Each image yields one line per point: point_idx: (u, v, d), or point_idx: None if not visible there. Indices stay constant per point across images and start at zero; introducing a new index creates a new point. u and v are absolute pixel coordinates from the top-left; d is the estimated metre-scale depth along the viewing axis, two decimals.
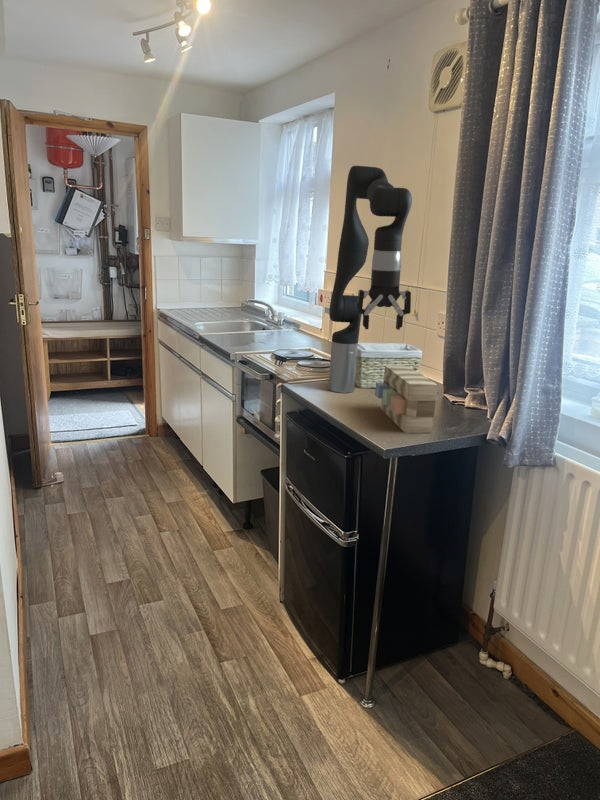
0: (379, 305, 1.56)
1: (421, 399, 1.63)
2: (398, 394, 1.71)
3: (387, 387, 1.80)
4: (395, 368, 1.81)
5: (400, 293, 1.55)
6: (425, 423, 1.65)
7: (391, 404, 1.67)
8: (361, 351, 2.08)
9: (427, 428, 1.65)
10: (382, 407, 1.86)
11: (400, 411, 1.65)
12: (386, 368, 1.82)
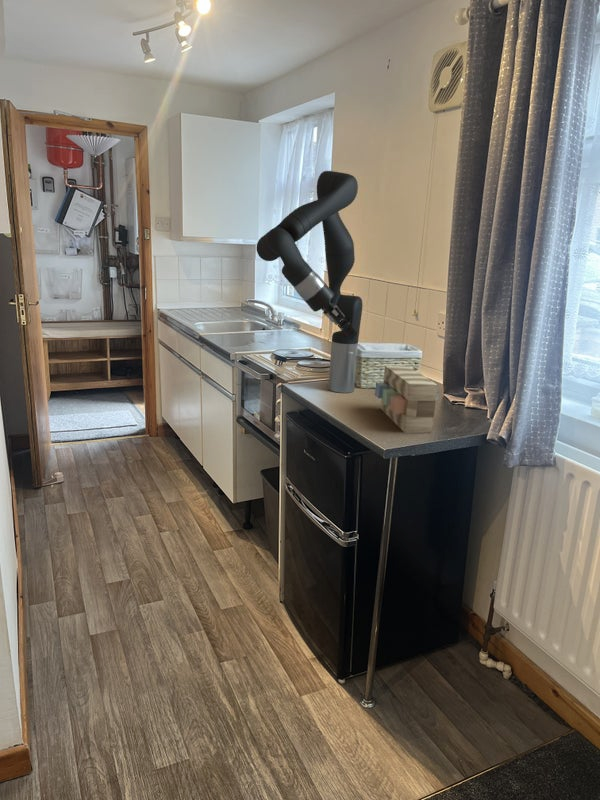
0: None
1: (421, 399, 1.63)
2: (398, 394, 1.71)
3: (387, 387, 1.80)
4: (395, 368, 1.81)
5: (329, 311, 1.60)
6: (425, 423, 1.65)
7: (391, 404, 1.67)
8: (361, 351, 2.08)
9: (427, 428, 1.65)
10: (382, 407, 1.86)
11: (400, 411, 1.65)
12: (386, 368, 1.82)
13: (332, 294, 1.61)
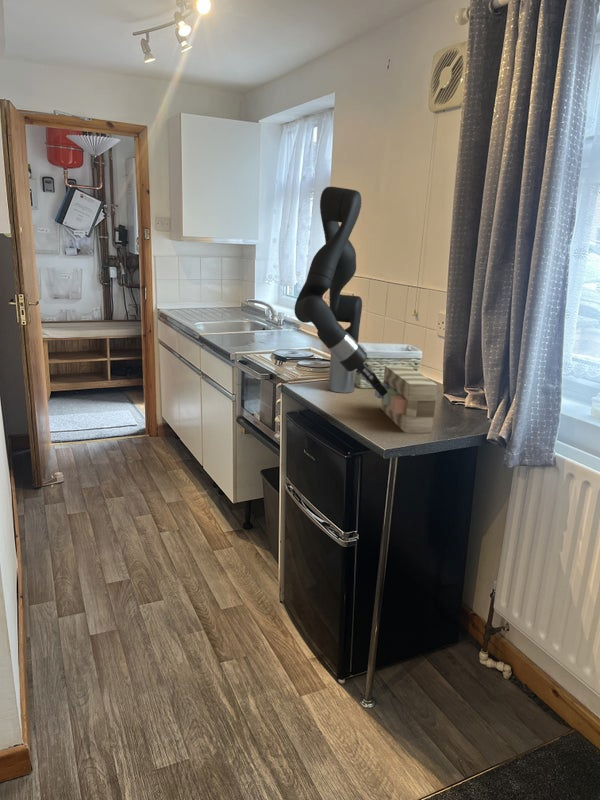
0: None
1: (421, 399, 1.63)
2: (398, 394, 1.71)
3: (387, 387, 1.80)
4: (395, 368, 1.81)
5: (364, 374, 1.67)
6: (425, 423, 1.65)
7: (391, 404, 1.67)
8: None
9: (427, 428, 1.65)
10: (382, 407, 1.86)
11: (400, 411, 1.65)
12: (386, 368, 1.82)
13: (365, 355, 1.67)
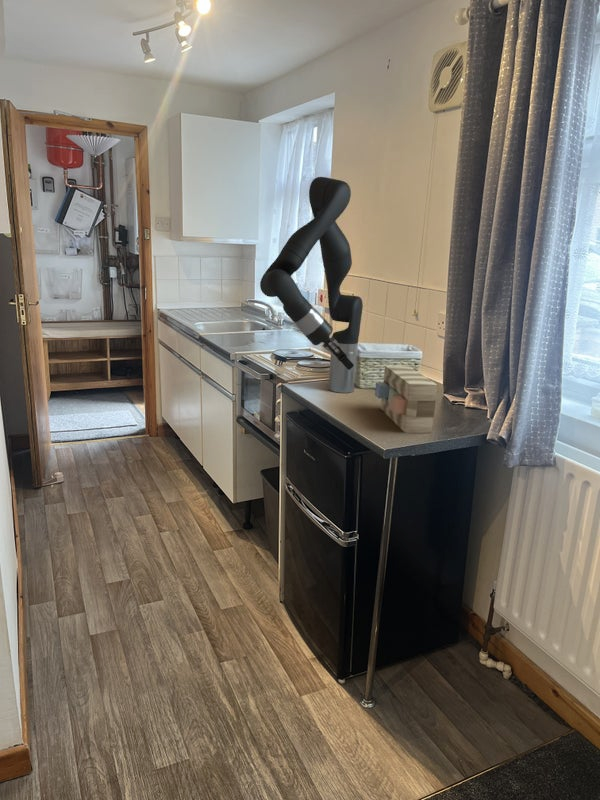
0: None
1: (421, 399, 1.63)
2: (398, 394, 1.71)
3: (387, 387, 1.80)
4: (395, 368, 1.81)
5: (330, 347, 1.69)
6: (425, 423, 1.65)
7: (391, 404, 1.67)
8: (360, 351, 2.08)
9: (427, 428, 1.65)
10: (382, 407, 1.86)
11: (400, 411, 1.65)
12: (386, 368, 1.82)
13: (331, 329, 1.69)
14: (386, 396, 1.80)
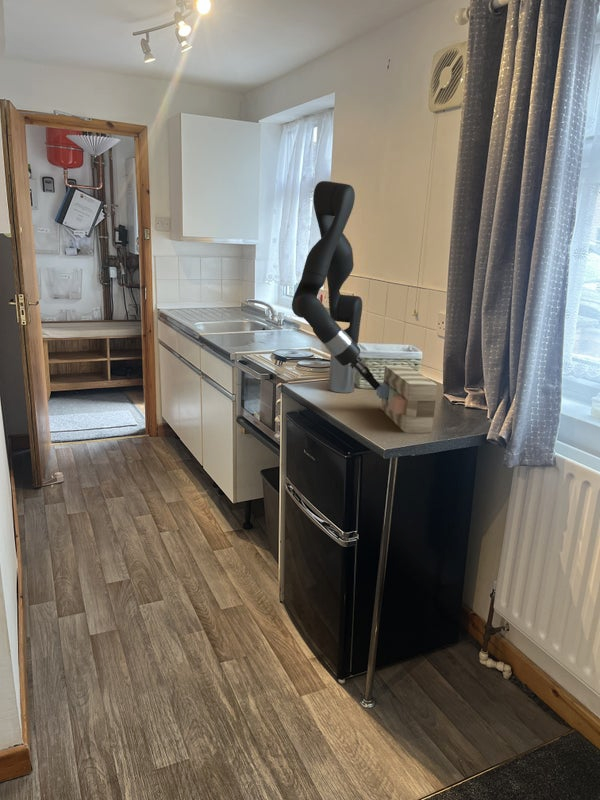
0: None
1: (421, 399, 1.63)
2: (398, 394, 1.71)
3: (388, 387, 1.80)
4: (395, 368, 1.81)
5: (357, 368, 1.74)
6: (425, 423, 1.65)
7: (391, 404, 1.67)
8: None
9: (427, 428, 1.65)
10: (382, 407, 1.86)
11: (400, 411, 1.65)
12: (386, 368, 1.82)
13: (359, 350, 1.75)
14: (387, 396, 1.80)
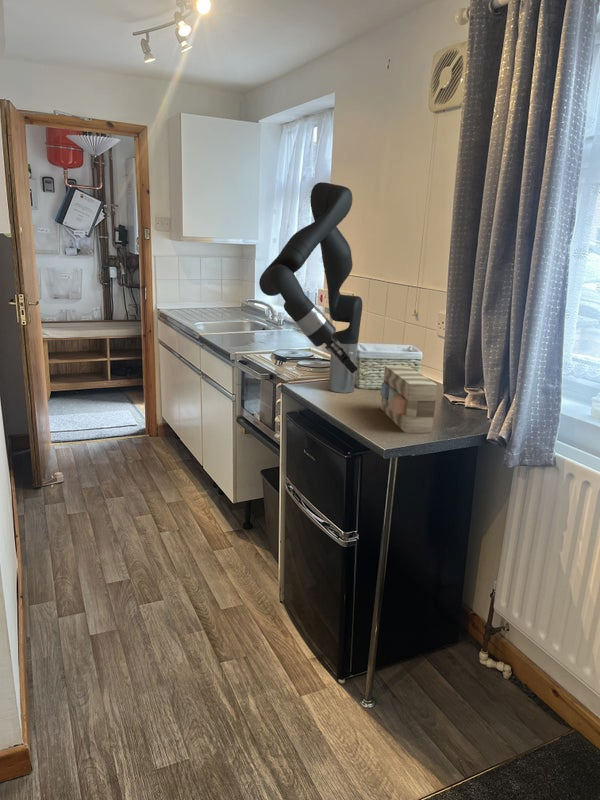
0: (333, 352, 1.66)
1: (421, 399, 1.63)
2: (398, 394, 1.71)
3: None
4: (395, 368, 1.81)
5: (332, 349, 1.60)
6: (425, 423, 1.65)
7: (391, 404, 1.67)
8: (359, 351, 2.07)
9: (427, 428, 1.65)
10: (382, 407, 1.86)
11: (400, 411, 1.65)
12: (386, 368, 1.82)
13: (334, 330, 1.61)
14: None
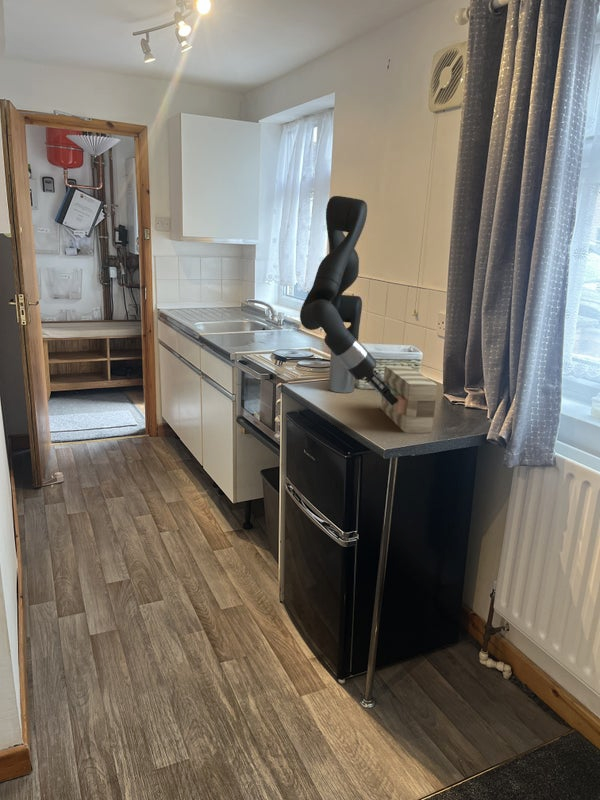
0: None
1: (421, 399, 1.63)
2: (398, 394, 1.71)
3: None
4: (395, 368, 1.81)
5: (374, 382, 1.59)
6: (425, 423, 1.65)
7: (394, 404, 1.67)
8: None
9: (427, 428, 1.65)
10: (382, 407, 1.86)
11: (404, 411, 1.65)
12: (386, 368, 1.82)
13: (375, 363, 1.60)
14: None
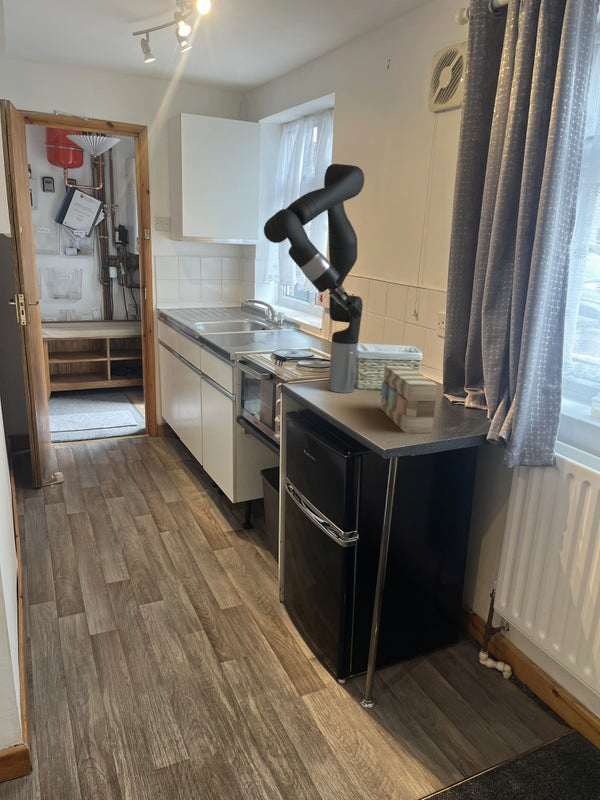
0: None
1: (421, 399, 1.63)
2: (398, 394, 1.71)
3: None
4: (395, 368, 1.81)
5: (336, 293, 1.64)
6: (425, 423, 1.65)
7: (397, 404, 1.67)
8: (358, 351, 2.07)
9: (427, 428, 1.65)
10: (382, 407, 1.86)
11: None
12: (386, 368, 1.82)
13: (338, 275, 1.65)
14: None
